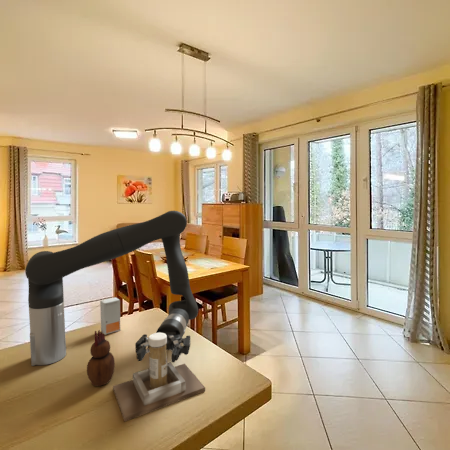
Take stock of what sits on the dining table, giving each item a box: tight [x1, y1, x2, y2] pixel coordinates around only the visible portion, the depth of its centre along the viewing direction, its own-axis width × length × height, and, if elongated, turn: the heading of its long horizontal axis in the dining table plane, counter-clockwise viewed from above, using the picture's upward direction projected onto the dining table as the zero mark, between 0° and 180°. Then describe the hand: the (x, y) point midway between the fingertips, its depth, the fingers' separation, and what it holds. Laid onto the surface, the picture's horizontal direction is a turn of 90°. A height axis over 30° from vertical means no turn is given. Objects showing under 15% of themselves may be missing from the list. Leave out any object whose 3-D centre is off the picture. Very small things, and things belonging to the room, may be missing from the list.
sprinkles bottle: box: [148, 332, 168, 389], centre depth 75 cm, size 5×5×14 cm
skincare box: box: [99, 296, 121, 336], centre depth 110 cm, size 6×4×12 cm
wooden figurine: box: [86, 329, 116, 387], centre depth 78 cm, size 7×6×15 cm
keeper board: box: [112, 362, 206, 422], centre depth 75 cm, size 20×13×4 cm, turn 121°
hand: (156, 358), depth 73 cm, fingers open, 8 cm apart
